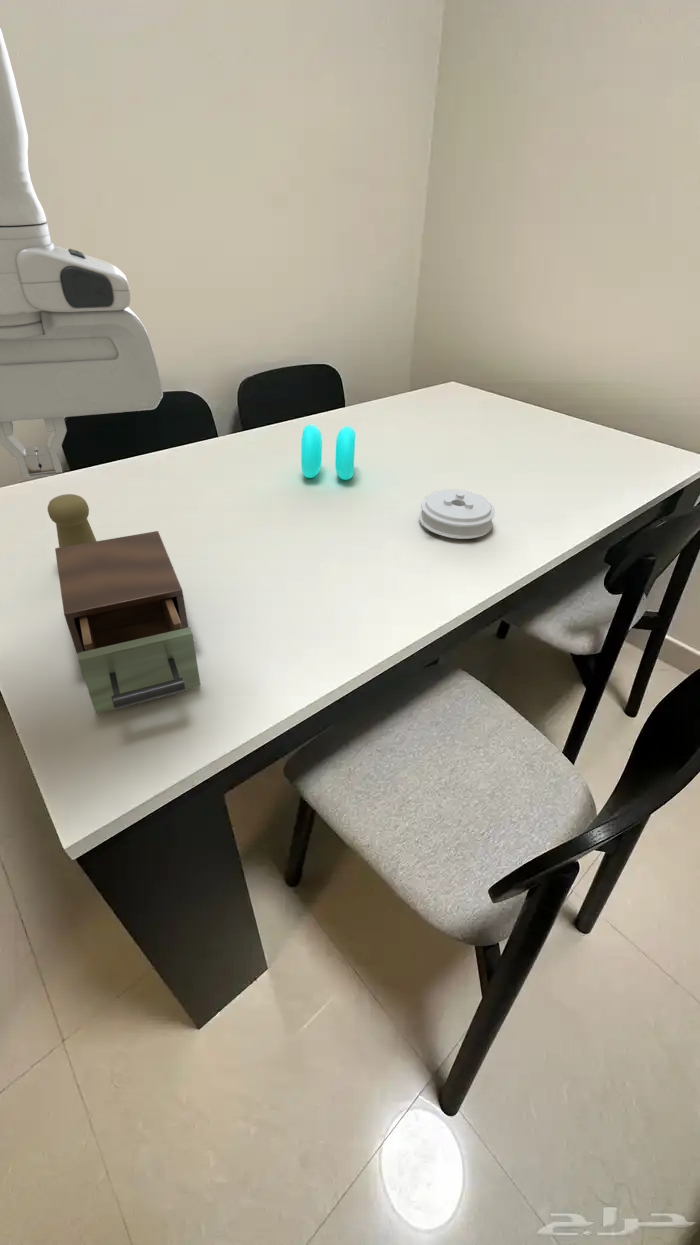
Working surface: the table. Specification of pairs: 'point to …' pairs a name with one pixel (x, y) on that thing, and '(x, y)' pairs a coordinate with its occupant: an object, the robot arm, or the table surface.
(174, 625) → the drawer
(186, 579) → the table surface
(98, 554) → the cabinet
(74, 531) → the cork
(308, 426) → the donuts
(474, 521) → the white grooved pulley wheel
